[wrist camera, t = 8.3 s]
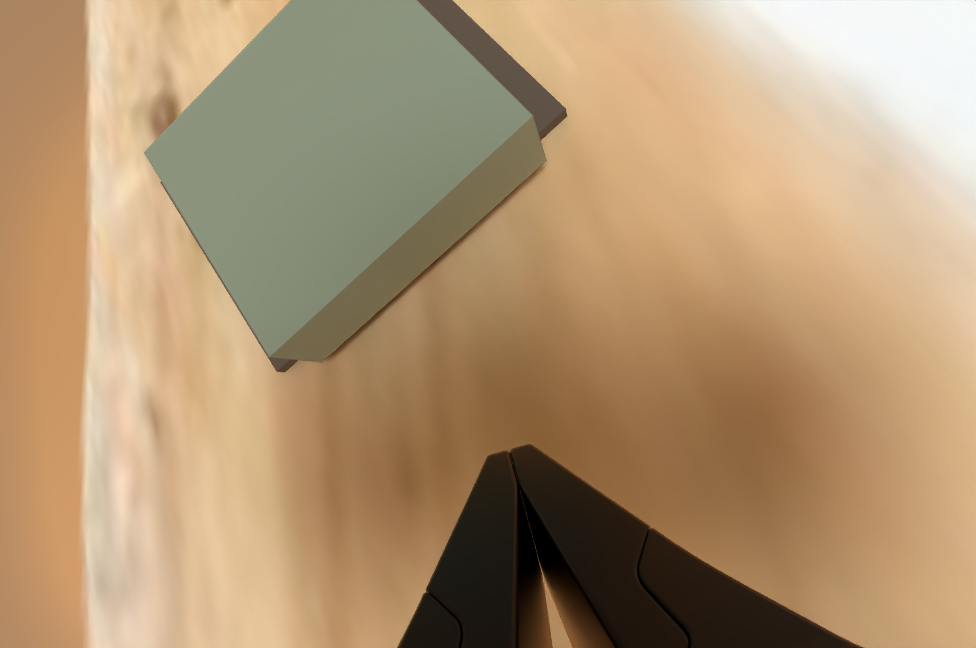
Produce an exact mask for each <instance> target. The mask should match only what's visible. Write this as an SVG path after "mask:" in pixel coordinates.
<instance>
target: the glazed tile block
mask: <svg viewBox="0 0 976 648" xmlns="http://www.w3.org/2000/svg"><path fill="white" fill-rule="evenodd" d="M144 154H145V155H146V157H147V159H148V160H149V162H150V163H151V165H152V167H153V168H154V170H155V172H156V173H157V175H158V177H159V178H160V180H161V181H162V183H163V185H164V186H165V188H166V190H167V191H168V193H169V194H170V196H171V198H172V199H173V201H174V203H175V204H176V206H177V208H178V209H179V211H180V212H181V214H182V216H183V217H184V219H185V221H186V222H187V224H188V225H189V227H190V229H191V230H192V232H193V234H194V235H195V237H196V238H197V240H198V242H199V243H200V245H201V247H202V248H203V250H204V252H205V253H206V255H207V256H208V258H209V260H210V261H211V263H212V265H213V266H214V268H215V269H216V271H217V273H218V274H219V276H220V278H221V279H222V281H223V283H224V284H225V286H226V287H227V289H228V291H229V292H230V294H231V296H232V297H233V299H234V300H235V302H236V304H237V305H238V307H239V309H240V310H241V312H242V314H243V315H244V317H245V318H246V320H247V322H248V323H249V325H250V327H251V328H252V330H253V331H254V333H255V335H256V336H257V338H258V340H259V341H260V343H261V345H262V346H263V348H264V349H265V351H266V353H267V354H268V356H269V357H272V358H282V359H293V360H303V361H314V362H323V361H324V360H325V359H326V358H327V357H328V356H329V355H330V354H332V353H333V352H334V351H335V350H336V349H337V348H338V347H339V346H341V345H342V344H343V343H344V342H345V341H346V340H347V339H348V338H349V337H351V336H352V335H353V334H354V333H355V332H356V331H357V330H358V329H359V328H361V327H362V326H363V325H364V324H365V323H366V322H367V321H368V320H370V319H371V318H372V317H373V316H374V315H375V314H376V313H377V312H378V311H380V310H381V309H382V308H383V307H384V306H385V305H386V304H387V303H388V302H390V301H391V300H392V299H393V298H394V297H395V296H396V295H397V294H399V293H400V292H401V291H402V290H403V289H404V288H405V287H406V286H407V285H409V284H410V283H411V282H412V281H413V280H414V279H415V278H416V277H417V276H419V275H420V274H421V273H422V272H423V271H424V270H425V269H426V268H427V267H429V266H430V265H431V264H432V263H433V262H434V261H435V260H436V259H438V258H439V257H440V256H441V255H442V254H443V253H444V252H445V251H446V250H448V249H449V248H450V247H451V246H452V245H453V244H454V243H455V242H456V241H458V240H459V239H460V238H461V237H462V236H463V235H464V234H465V233H467V232H468V231H469V230H470V229H471V228H472V227H473V226H474V225H475V224H477V223H478V222H479V221H480V220H481V219H482V218H483V217H484V216H485V215H487V214H488V213H489V212H490V211H491V210H492V209H493V208H494V207H496V206H497V205H498V204H499V203H500V202H501V201H502V200H503V199H504V198H506V197H507V196H508V195H509V194H510V193H511V192H512V191H513V190H514V189H516V188H517V187H518V186H519V185H520V184H521V183H522V182H523V181H525V180H526V179H527V178H528V177H529V176H530V175H531V174H532V173H533V172H535V171H536V170H537V169H538V168H539V167H540V166H541V165H542V164H543V163H545V162H546V161H547V160H546V157H545V154H544V150H543V147H542V144H541V140H540V137H539V134H538V131H537V127H536V124H535V121H534V117H533V115H532V114H531V113H530V112H529V111H528V110H527V109H526V108H525V107H524V106H523V105H522V104H521V103H520V102H519V101H518V100H517V99H516V98H515V97H514V96H513V95H512V94H511V93H510V92H509V91H508V90H507V89H506V88H505V87H504V86H503V85H502V84H501V83H499V82H498V81H497V80H496V79H495V78H494V77H493V76H492V75H491V74H490V73H489V72H488V71H487V70H486V69H485V68H484V67H483V66H482V65H481V64H480V63H479V62H478V61H477V60H476V59H475V58H474V57H473V56H472V55H471V54H470V53H469V52H468V51H467V50H466V49H465V48H464V47H463V46H462V45H461V44H460V43H459V42H458V41H457V40H456V39H455V38H454V37H453V36H452V35H451V34H450V33H449V32H448V31H447V30H446V29H445V28H444V27H443V26H442V25H441V24H440V23H439V22H438V21H437V20H436V19H435V18H434V17H433V16H432V15H431V14H430V13H429V12H428V11H427V10H426V9H425V8H424V7H423V6H422V5H421V4H420V3H419V2H418V1H417V0H291V1H290V2H289V3H288V4H287V5H286V6H285V7H284V8H283V9H282V10H281V11H280V12H279V13H278V14H277V15H276V16H275V17H274V18H273V19H272V20H271V21H270V22H269V23H268V24H267V25H266V27H265V28H264V29H263V30H262V31H261V32H260V33H259V34H258V35H257V36H256V37H255V38H254V39H253V40H252V41H251V42H250V43H249V44H248V45H247V46H246V47H245V48H244V49H243V50H242V51H241V52H240V53H239V54H238V56H237V57H236V58H235V59H234V60H233V61H232V62H231V63H230V64H229V65H228V66H227V67H226V68H225V69H224V70H223V71H222V72H221V73H220V74H219V75H218V76H217V77H216V78H215V79H214V80H213V81H212V82H211V83H210V85H209V86H208V87H207V88H206V89H205V90H204V91H203V92H202V93H201V94H200V95H199V96H198V97H197V98H196V99H195V100H194V101H193V102H192V103H191V104H190V105H189V106H188V107H187V108H186V109H185V110H184V111H183V112H182V114H181V115H180V116H179V117H178V118H177V119H176V120H175V121H174V122H173V123H172V124H171V125H170V126H169V127H168V128H167V129H166V130H165V131H164V132H163V133H162V134H161V135H160V136H159V137H158V138H157V139H156V140H155V141H154V143H153V144H152V145H151V146H150V147H149V148H148V149H147V150H146V151H145V152H144Z"/></svg>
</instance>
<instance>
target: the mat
mask: <svg viewBox="0 0 976 648" xmlns="http://www.w3.org/2000/svg"><path fill="white" fill-rule="evenodd" d="M417 1H418V2H419V3H420V4H421V5H422V6H423V7H424V8H425V9H426V10H427V11H428V12H429V13H430V14H431V15H432V16H433V17H434V18H435V19H436V20H437V21H438V22H439V23H440V24H441V25H442V26H443V27H444V28H445V29H446V30H447V31H448V32H449V33H450V34H451V35H452V36H453V37H454V38H455V39H456V40H457V41H458V42H459V43H460V44H461V45H462V46H463V47H464V48H465V49H466V50H467V51H468V52H469V53H470V54H471V55H472V56H473V57H474V58H475V59H476V60H477V61H478V62H479V63H480V64H481V65H482V66H483V67H484V68H485V69H486V70H487V71H488V72H489V73H490V74H491V75H492V76H493V77H494V78H495V79H496V80H497V81H498V82H499V83H501V84H502V85H503V86H504V87H505V88H506V89H507V90H508V91H509V92H510V93H511V94H512V95H513V96H514V97H515V98H516V99H517V100H518V101H519V102H520V103H521V104H522V105H523V106H524V107H525V108H526V109H527V110H528V111H529V112H530V113H531V114H532V115H533V117H534V121H535V124H536V127H537V131H538V134H539V137H540V140H541V139H542V138H543V137H544V136H546V135H547V134H548V133H549V132H550V131H551V130H552V129H553V128H554V127H555V126H557V125H558V124H559V123H560V122H561V121H562V120H563V119H564V118H565V117H566V116H567V113H566V108H564V107H563V106H562V105H561V104H560V103H559V102H558V101H557V100H556V99H555V98H554V97H553V96H552V95H551V94H550V93H549V92H548V91H547V90H546V89H545V88H544V87H542V86H541V85H540V84H539V83H538V82H537V81H536V80H535V79H534V78H533V77H532V76H531V75H530V74H529V73H528V72H527V71H526V70H525V69H524V68H523V67H522V66H520V65H519V64H518V63H517V62H516V61H515V60H514V59H513V58H512V57H511V56H510V55H509V54H508V53H507V52H506V51H505V50H504V49H503V48H502V47H501V46H500V45H498V44H497V43H496V42H495V41H494V40H493V39H492V38H491V37H490V36H489V35H488V34H487V33H486V32H485V31H484V30H483V29H482V28H481V27H480V26H479V25H478V24H476V23H475V22H474V21H473V20H472V19H471V18H470V17H469V16H468V15H467V14H466V13H465V12H464V11H463V10H462V9H461V8H460V7H459V6H458V5H457V4H456V3H454V2H453V1H452V0H417ZM161 184H162V186H163V187H164V189H165V191H166V192H167V194H168V195H169V197H170V199H171V200H172V202H173V204H174V205H175V207H176V208H177V206H176V204H175V203H174V201H173V199H172V198H171V196H170V194H169V193H168V191H167V190H166V188H165V186H164V185H163V183H162V181H161ZM177 210H178V212H179V213H180V215H181V217H182V218H183V220H184V221H185V219H184V217H183V216H182V214H181V212H180V211H179V209H178V208H177ZM185 223H186V225H187V226H188V228H189V230H190V231H191V233H192V235H193V236H194V238H195V239H196V241H197V243H198V244H199V246H200V248H201V249H202V251H203V252H204V250H203V248H202V247H201V245H200V243H199V242H198V240H197V238H196V237H195V235H194V234H193V232H192V230H191V229H190V227H189V225H188V224H187V222H186V221H185ZM204 254H205V256H206V257H207V259H208V261H209V262H210V264H211V265H212V263H211V261H210V260H209V258H208V256H207V255H206V253H205V252H204ZM212 267H213V269H214V270H215V272H216V274H217V275H218V277H219V278H220V276H219V274H218V273H217V271H216V269H215V268H214V266H213V265H212ZM220 280H221V282H222V283H223V281H222V279H221V278H220ZM223 285H224V287H225V288H226V290H227V291H228V289H227V287H226V286H225V284H224V283H223ZM228 293H229V295H230V296H231V294H230V292H229V291H228ZM231 298H232V300H233V301H234V303H235V305H236V306H237V308H238V309H239V307H238V305H237V304H236V302H235V300H234V299H233V297H232V296H231ZM239 311H240V313H241V314H242V312H241V310H240V309H239ZM242 316H243V318H244V319H245V321H246V322H247V320H246V318H245V317H244V315H243V314H242ZM247 324H248V326H249V327H250V325H249V323H248V322H247ZM250 329H251V331H252V332H253V334H254V335H255V333H254V331H253V330H252V328H251V327H250ZM255 337H256V339H257V340H258V338H257V336H256V335H255ZM258 342H259V344H260V345H261V343H260V341H259V340H258ZM261 347H262V348H263V346H262V345H261ZM263 350H264V352H265V353H266V351H265V349H264V348H263ZM266 355H267V357H268V358H269V360H270V361H271V363H272V365H273V366H274V368H275V370H276V371H277V372H286V371H287V370H288V369H289V368H290V367H291V366H292V365H293V364H294V363H295V362H297V361H298V360H293V359H282V358H272V357H269V356H268V354H267V353H266Z"/></svg>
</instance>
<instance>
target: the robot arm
mask: <svg viewBox="0 0 976 648" xmlns="http://www.w3.org/2000/svg"><path fill="white" fill-rule="evenodd" d="M510 454H511V455H510ZM511 458H512V459H511ZM512 462H513V463H512ZM513 465H514V466H513ZM514 469H515V470H514ZM515 473H516V474H515ZM516 476H517V477H516ZM517 480H518V481H517ZM518 484H519V485H518ZM519 488H520V489H519ZM520 491H521V492H520ZM521 495H522V496H521ZM522 499H523V500H522ZM523 503H524V504H523ZM524 506H525V507H524ZM525 510H526V511H525ZM526 514H527V515H526ZM527 517H528V518H527ZM528 521H529V522H528ZM529 525H530V526H529ZM530 529H531V530H530ZM531 532H532V533H531ZM532 536H533V537H532ZM533 540H534V541H533ZM534 543H535V545H534ZM535 547H536V548H535ZM536 551H537V552H536ZM537 555H538V556H537ZM538 558H539V560H538ZM539 562H540V564H539ZM540 565H541V568H542V572H543V575H544V577H545V580H546V583H547V585H548V588H549V590H550V593H551V595H552V598H553V600H554V603H555V605H556V608H557V610H558V612H559V615H560V617H561V620H562V622H563V625H564V627H565V630H566V632H567V635H568V637H569V640H570V642H571V644H572V647H573V648H863V647H861V646H859V645H856V644H854V643H852V642H850V641H848V640H846V639H844V638H842V637H840V636H838V635H836V634H834V633H832V632H831V631H829V630H827V629H825V628H823V627H821V626H820V625H818V624H816V623H814V622H812V621H810V620H809V619H807V618H805V617H803V616H801V615H799V614H798V613H796V612H794V611H792V610H790V609H788V608H786V607H785V606H783V605H781V604H779V603H777V602H775V601H774V600H772V599H770V598H768V597H766V596H764V595H763V594H761V593H759V592H757V591H755V590H753V589H751V588H750V587H748V586H746V585H744V584H742V583H740V582H739V581H737V580H735V579H733V578H732V577H730V576H728V575H726V574H725V573H723V572H721V571H719V570H718V569H716V568H714V567H712V566H711V565H709V564H707V563H705V562H704V561H702V560H700V559H699V558H697V557H696V556H694V555H692V554H691V553H689V552H688V551H686V550H685V549H683V548H682V547H680V546H679V545H677V544H675V543H674V542H672V541H671V540H669V539H668V538H666V537H665V536H664V535H662V534H661V533H659V532H658V531H656V530H655V529H653V528H650V526H649V525H647V524H646V523H644V522H643V521H642V520H640V519H639V518H637V517H636V516H634V515H633V514H631V513H630V512H628V511H627V510H626V509H624V508H623V507H621V506H620V505H618V504H617V503H615V502H614V501H613V500H611V499H610V498H608V497H607V496H605V495H604V494H602V493H601V492H600V491H598V490H597V489H595V488H594V487H592V486H591V485H589V484H588V483H586V482H585V481H584V480H582V479H581V478H579V477H578V476H576V475H575V474H573V473H572V472H571V471H569V470H568V469H566V468H565V467H563V466H562V465H560V464H559V463H558V462H556V461H555V460H553V459H552V458H550V457H549V456H547V455H546V454H544V453H543V452H542V451H540V450H539V449H537V448H536V447H534V446H533V445H531V444H528V445H524V446H520V447H517V448H513V449H512V450H511V452H510V453H509V452H508V451H502V452H499V453H495V454H492V455H489V456H488V457H487V458H486V461H485V463H484V465H483V467H482V469H481V471H480V474H479V476H478V478H477V480H476V482H475V484H474V487H473V489H472V491H471V493H470V495H469V497H468V499H467V502H466V504H465V506H464V508H463V510H462V512H461V515H460V517H459V519H458V521H457V523H456V525H455V528H454V530H453V532H452V534H451V536H450V538H449V540H448V543H447V545H446V547H445V549H444V551H443V553H442V556H441V558H440V560H439V562H438V564H437V566H436V569H435V571H434V573H433V575H432V577H431V579H430V581H429V584H428V586H427V588H426V593H424V594H423V596H422V598H421V600H420V603H419V605H418V607H417V609H416V611H415V613H414V615H413V617H412V619H411V621H410V623H409V625H408V627H407V629H406V631H405V633H404V635H403V637H402V639H401V641H400V643H399V645H398V647H397V648H553V646H552V639H551V632H550V625H549V618H548V611H547V604H546V597H545V590H544V584H543V578H542V572H541V568H540Z"/></svg>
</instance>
